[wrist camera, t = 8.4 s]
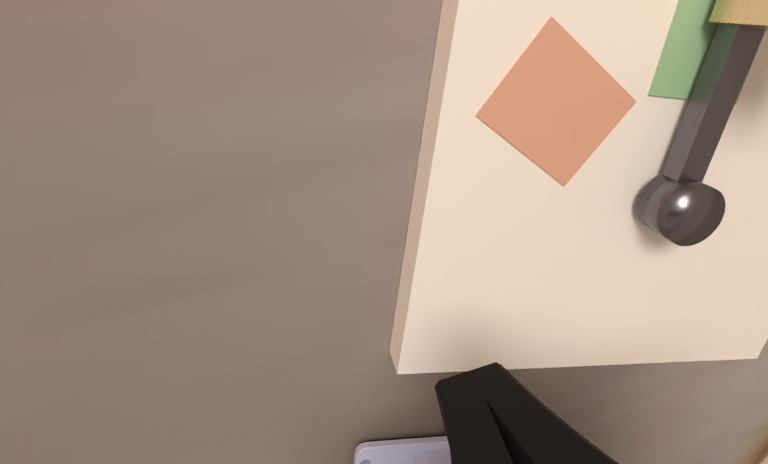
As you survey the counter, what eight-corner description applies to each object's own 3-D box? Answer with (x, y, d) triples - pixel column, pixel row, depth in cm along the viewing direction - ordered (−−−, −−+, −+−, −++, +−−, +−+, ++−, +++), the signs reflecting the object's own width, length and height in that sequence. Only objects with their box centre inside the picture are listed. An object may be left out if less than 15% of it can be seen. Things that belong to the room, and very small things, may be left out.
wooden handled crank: (677, 228, 19) (802, 301, 15) (628, 226, 19) (742, 301, 14) (787, -39, 15) (1000, -52, 11) (730, -52, 15) (929, -70, 10)
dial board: (731, 339, 25) (759, 359, 24) (389, 350, 21) (398, 375, 20) (902, -6, 19) (953, -6, 17) (456, -88, 15) (476, -96, 13)
